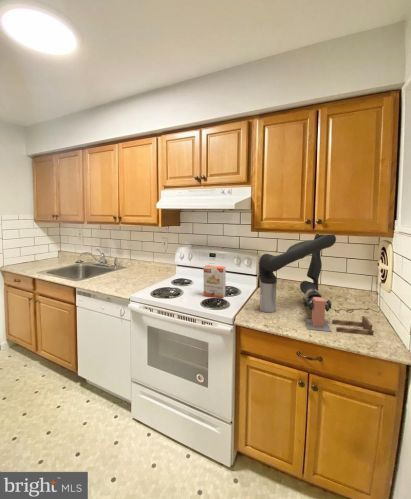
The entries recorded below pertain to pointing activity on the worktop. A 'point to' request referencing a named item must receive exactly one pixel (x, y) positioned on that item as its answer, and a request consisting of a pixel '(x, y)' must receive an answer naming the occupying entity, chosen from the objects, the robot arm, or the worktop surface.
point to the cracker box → (214, 281)
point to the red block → (318, 312)
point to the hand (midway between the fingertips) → (319, 309)
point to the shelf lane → (364, 324)
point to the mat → (310, 327)
